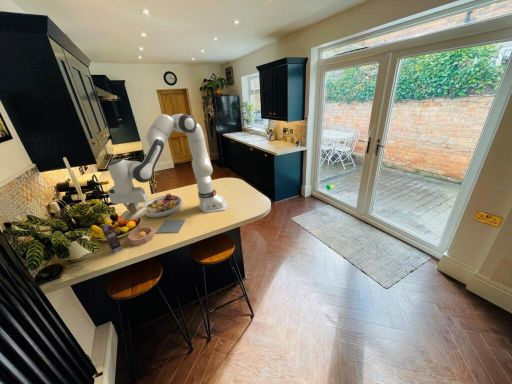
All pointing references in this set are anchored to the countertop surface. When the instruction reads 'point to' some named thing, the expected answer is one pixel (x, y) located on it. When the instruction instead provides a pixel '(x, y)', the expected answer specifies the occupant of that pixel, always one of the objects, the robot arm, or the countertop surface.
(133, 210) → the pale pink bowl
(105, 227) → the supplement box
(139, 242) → the bowl
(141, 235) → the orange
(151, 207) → the bowl
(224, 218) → the countertop surface
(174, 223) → the mat
